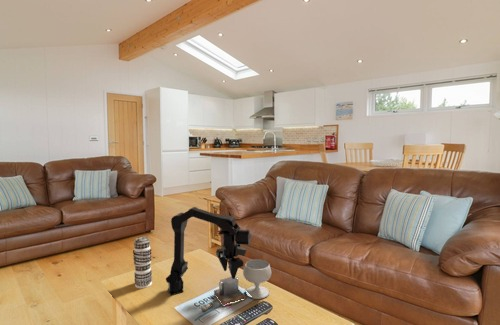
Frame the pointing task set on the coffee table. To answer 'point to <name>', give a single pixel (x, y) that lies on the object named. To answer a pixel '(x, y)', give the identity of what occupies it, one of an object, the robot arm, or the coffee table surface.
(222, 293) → the block
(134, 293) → the coffee table surface
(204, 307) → the loose bolt
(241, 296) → the plinth
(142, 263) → the grey striped cylinder
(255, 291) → the chalice
